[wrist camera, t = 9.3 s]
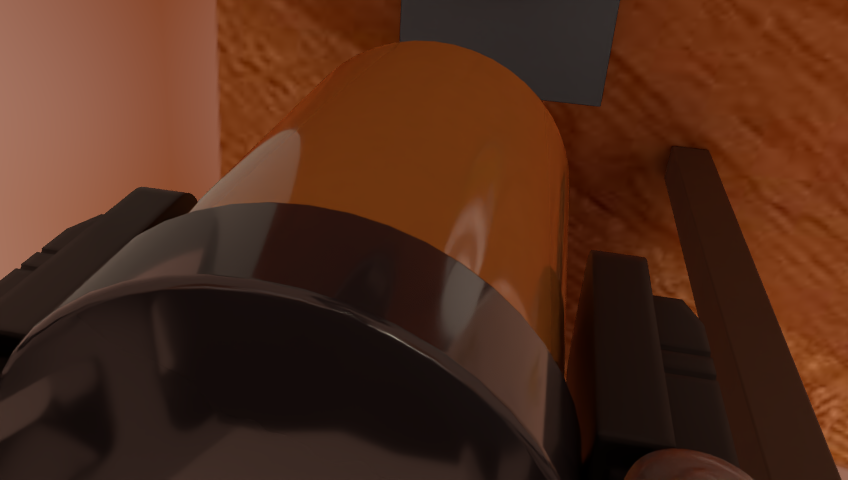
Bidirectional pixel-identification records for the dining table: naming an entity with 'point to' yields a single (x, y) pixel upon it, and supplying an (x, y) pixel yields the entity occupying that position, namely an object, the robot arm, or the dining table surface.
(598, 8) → the coaster
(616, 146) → the dining table surface
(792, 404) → the cabinet
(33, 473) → the jar
